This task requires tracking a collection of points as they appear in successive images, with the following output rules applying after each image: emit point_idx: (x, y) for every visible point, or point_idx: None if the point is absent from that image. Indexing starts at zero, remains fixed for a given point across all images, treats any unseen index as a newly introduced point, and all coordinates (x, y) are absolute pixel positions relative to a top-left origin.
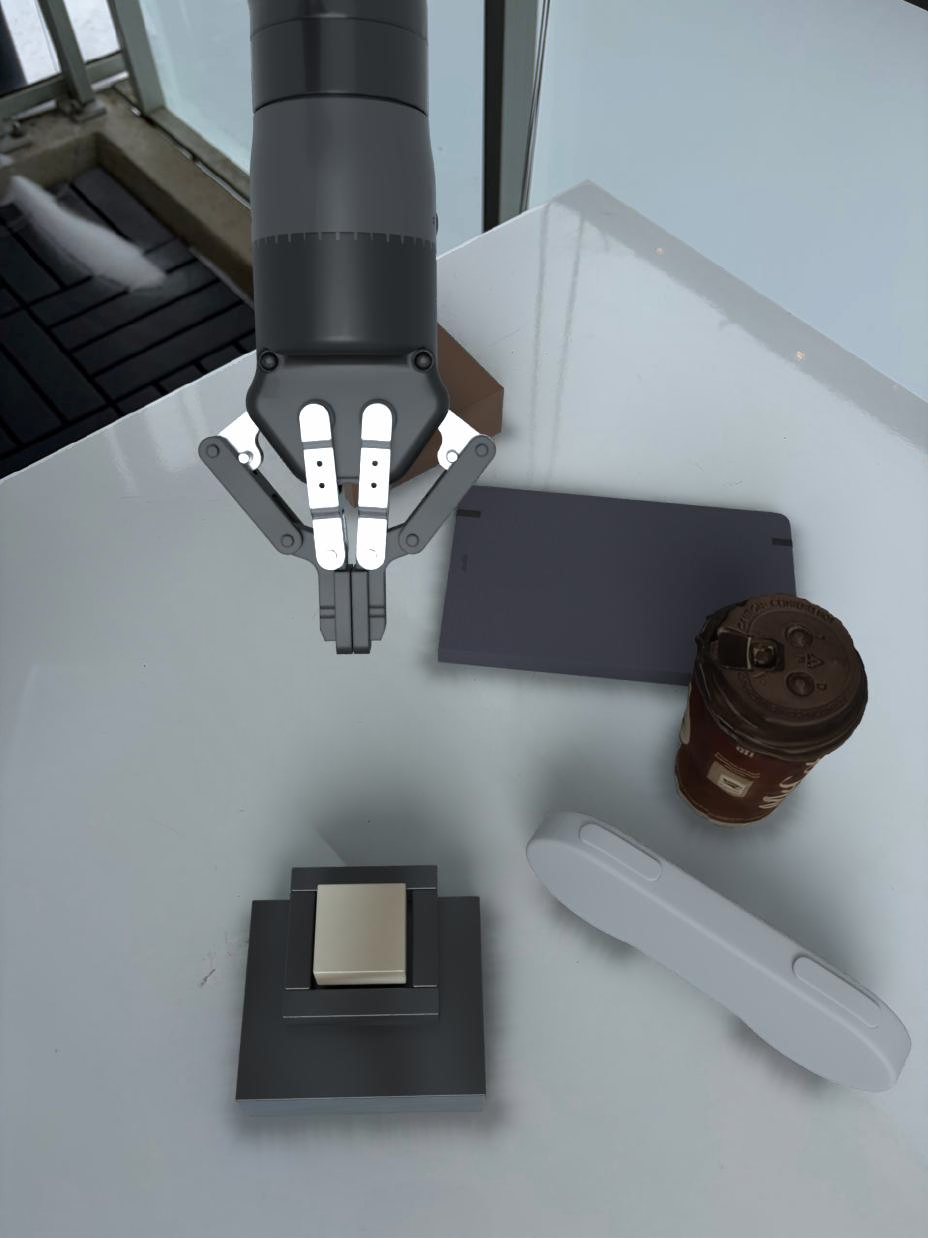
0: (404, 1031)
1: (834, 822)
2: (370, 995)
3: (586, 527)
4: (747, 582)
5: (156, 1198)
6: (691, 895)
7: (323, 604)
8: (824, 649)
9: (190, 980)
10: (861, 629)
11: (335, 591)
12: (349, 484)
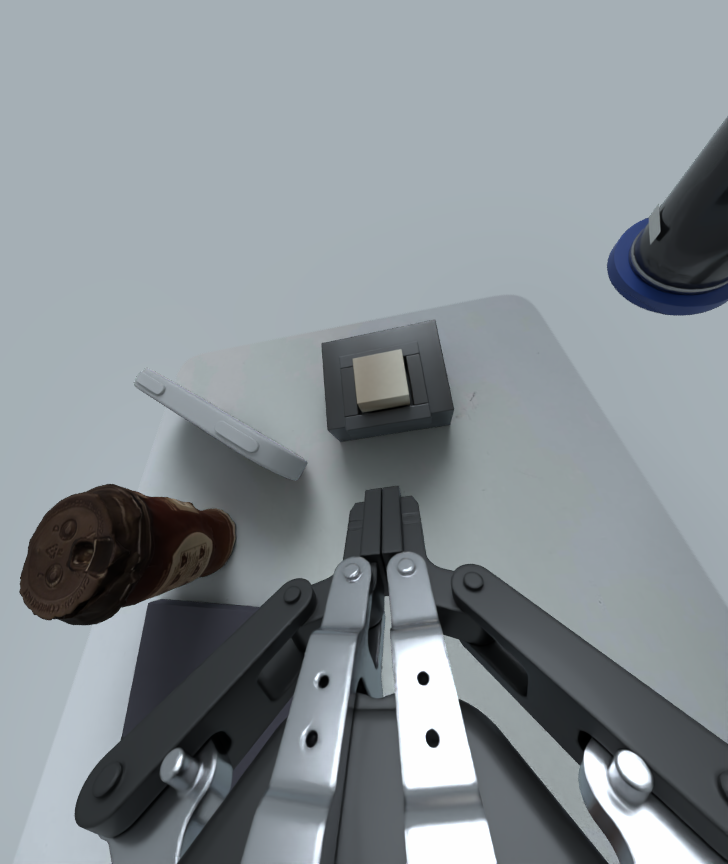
0: None
1: None
2: None
3: None
4: (159, 696)
5: (465, 311)
6: (203, 417)
7: (415, 524)
8: (41, 562)
9: (481, 393)
10: (112, 657)
11: (399, 531)
12: None
